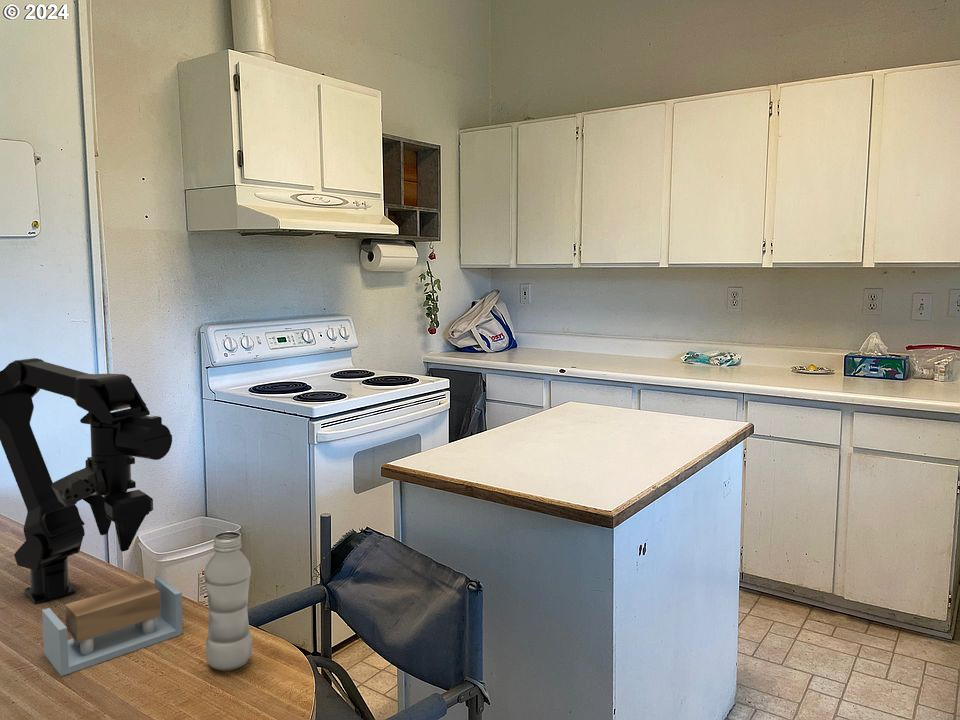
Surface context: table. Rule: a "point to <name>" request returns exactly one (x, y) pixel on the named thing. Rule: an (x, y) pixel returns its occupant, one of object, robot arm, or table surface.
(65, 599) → the table surface
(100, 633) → the shelf block
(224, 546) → the plastic bottle
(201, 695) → the table surface
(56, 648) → the peg rack
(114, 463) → the robot arm
